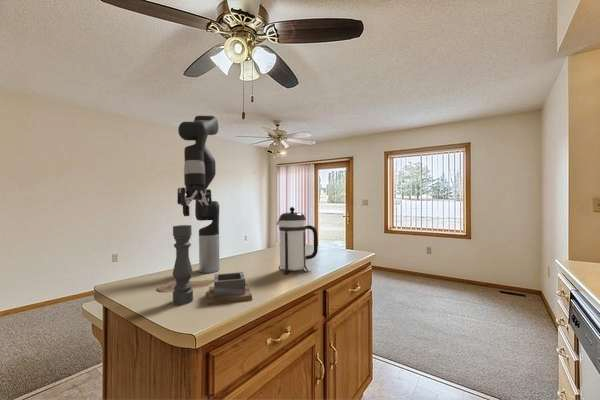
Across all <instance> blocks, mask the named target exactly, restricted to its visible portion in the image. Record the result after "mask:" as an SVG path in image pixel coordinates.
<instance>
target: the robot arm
mask: <svg viewBox="0 0 600 400" xmlns="http://www.w3.org/2000/svg"><path fill="white" fill-rule="evenodd" d="M177 131H178V135H179V137H180V138H181V139H182V140H184V141H194V142H195V143H194V144H191V145H188V146H185V147H184V149H183V154H184V155H183V156H184V164H183V177H184V179H183V182H184V187H179V188H177V201H176V202H177V205H181V206H182V215H183V216H184V217H189V216H191V215H190V206H189V205H190V204H191V202H193V201H195V202H194V203H195V206H194V207H195V209H194V210H195V211H194V212H195V214H194V215H195V219H196V220H197V221H199V222H201V221H202V222H203V221H211V223H210V224H208V225H206V226H204V227H201V228H199V229H198V265H199V266H198V270H199V273H201V274H202V273H204V274H206V273H207V274H208V273H210V274H211V273H215V272H218V271H220V204H219V202H218V201H217V200H213V199H212V190H211V189H210V188H209V189H208V187H209V185H210V184H211V183H212V181H213V180H214V179H215V176H216V174H217V173H216V169H217V168H216V159H215V157H214V156H213V155H212V153H211V152H210V150H209V149H208V147H207V146H206V143H207V138H208V136H214V135H217V134H218V133H219V132H218V131H219V122H218V118H217V117H216V116H213V115H196V116H194V119H193V121H182V122H180V124H179V125H178V130H177Z"/></svg>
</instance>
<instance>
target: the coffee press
mask: <svg viewBox="0 0 600 400" xmlns="http://www.w3.org/2000/svg"><path fill="white" fill-rule="evenodd" d="M289 211H290V212H283V213H281V214H280V216H279V218H278V220H277V221H276V224H275V225H276V226H278V230H279V266H278V270H279V271H280V270H284V271H283V274H284V275H288V274H289V273H290V271H300V270H302V271H303V272H304V273H305V274H306V273H307V272H309V269H308V268H307V266H306V265H307V264H306V263H307V260H311V259H314V258H315V257H316V256H317V254H318V249H319V245H318V239H319V238H318V231H317V229H316V227H315V226H313V225H306V220H307V218H306V217H305V216H306V215H305V214H303V213H302V212H294V211H295V207H293V206H291V207H290V208H289ZM306 230H311V231H312V234H313V235H312V236H313V252H312V254H309V255H307V254H306Z"/></svg>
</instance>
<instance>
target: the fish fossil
mask: <svg viewBox="0 0 600 400" xmlns="http://www.w3.org/2000/svg"><path fill="white" fill-rule="evenodd" d="M189 282H190V284H191V285H192V288H191V289H193V290H194V289H198V288H203V287H210V285H212V284H213V283H214V279H205V280H195V281H193V280H190V281H189ZM176 284H177V283H176V282H173V283H172V282H171V283H170V282H169V283H165V284H162V285H159V286H158V287H157V288H156V290H157V292H159V293H173V292H174V291H175V290H174V286H175V285H176Z"/></svg>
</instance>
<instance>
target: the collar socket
mask: <svg viewBox="0 0 600 400" xmlns="http://www.w3.org/2000/svg"><path fill="white" fill-rule="evenodd" d="M213 280H214V282H213V283H214V284H213V286H208V287H209V289H208V295H207V306H210V305H219V304H220V305H221V304H227V303H228V304H230V303H235V302H236V303H237V302H245V301H246V302H247V301H252V300H253V295H252V292H251V289H250V285H249V283H246V279H245V274H244V272H243V271H240V272H239V271H238V272H230V273H229V272H227V273H217V274H214V279H213Z"/></svg>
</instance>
